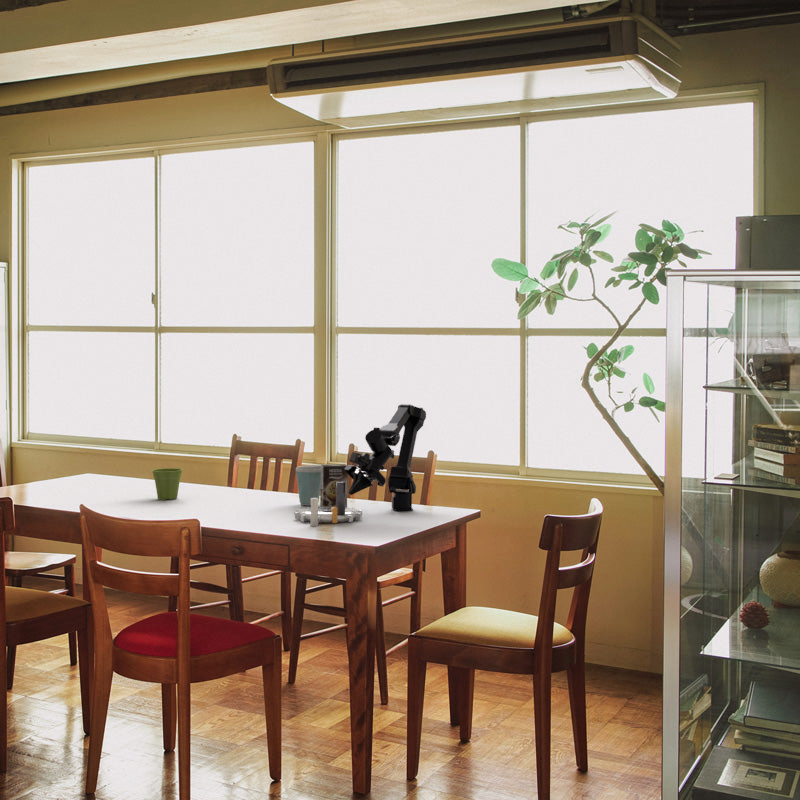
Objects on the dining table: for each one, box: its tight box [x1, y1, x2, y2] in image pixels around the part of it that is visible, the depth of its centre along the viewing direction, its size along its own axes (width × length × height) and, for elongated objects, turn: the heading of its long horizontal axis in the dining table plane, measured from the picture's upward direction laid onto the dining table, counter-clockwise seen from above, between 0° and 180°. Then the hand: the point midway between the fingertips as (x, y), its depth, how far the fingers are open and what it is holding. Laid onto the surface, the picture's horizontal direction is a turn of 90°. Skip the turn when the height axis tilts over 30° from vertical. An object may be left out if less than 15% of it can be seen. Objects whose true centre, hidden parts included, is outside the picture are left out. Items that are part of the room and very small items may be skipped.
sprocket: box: [294, 482, 363, 524], centre depth 333 cm, size 23×23×13 cm
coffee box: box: [319, 463, 349, 508], centre depth 353 cm, size 9×6×16 cm
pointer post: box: [310, 498, 319, 527], centre depth 320 cm, size 2×2×9 cm
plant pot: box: [151, 467, 184, 501], centre depth 374 cm, size 12×12×11 cm
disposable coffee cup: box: [295, 464, 322, 506], centre depth 362 cm, size 11×11×15 cm
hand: (349, 494), depth 328 cm, fingers closed
